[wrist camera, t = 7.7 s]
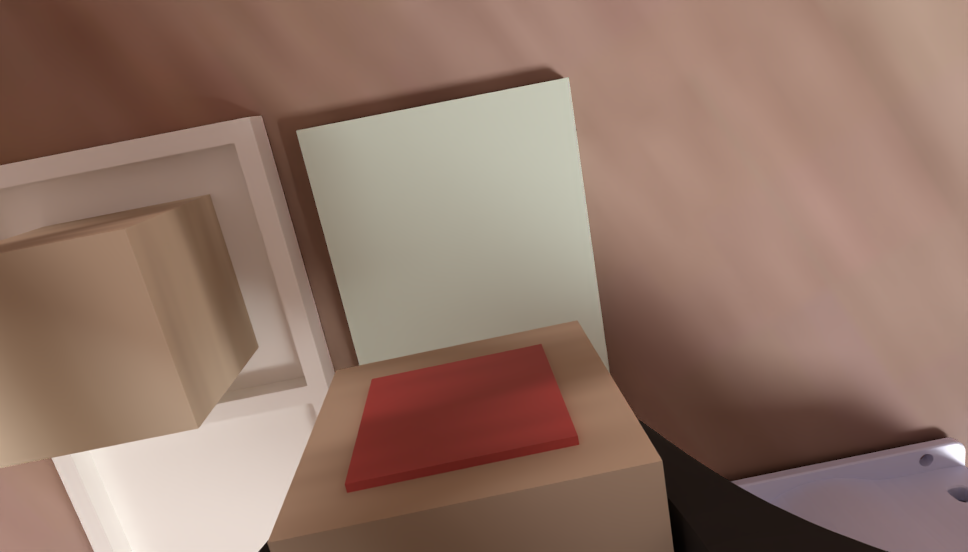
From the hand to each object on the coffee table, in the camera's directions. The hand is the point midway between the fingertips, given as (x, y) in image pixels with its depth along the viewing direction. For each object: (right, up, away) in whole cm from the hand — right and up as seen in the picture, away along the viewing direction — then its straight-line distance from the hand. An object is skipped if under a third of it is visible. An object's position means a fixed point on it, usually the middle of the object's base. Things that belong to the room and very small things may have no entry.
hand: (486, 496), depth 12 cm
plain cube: (-10, +4, +7) cm, 13 cm away
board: (0, +3, +8) cm, 9 cm away
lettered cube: (0, 0, +1) cm, 2 cm away
